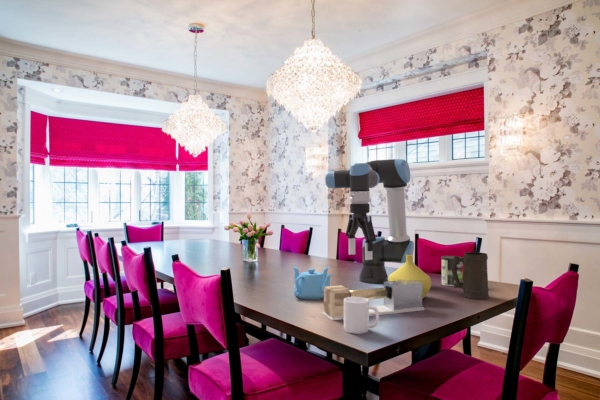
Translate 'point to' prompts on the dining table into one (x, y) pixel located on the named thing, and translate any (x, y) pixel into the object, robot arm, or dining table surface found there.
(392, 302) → the sleeve
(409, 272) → the vase
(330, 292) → the socket block
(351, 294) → the slip tube
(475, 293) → the beer stein
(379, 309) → the base rail
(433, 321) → the dining table surface
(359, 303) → the cup
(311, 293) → the teapot
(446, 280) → the coffee can
